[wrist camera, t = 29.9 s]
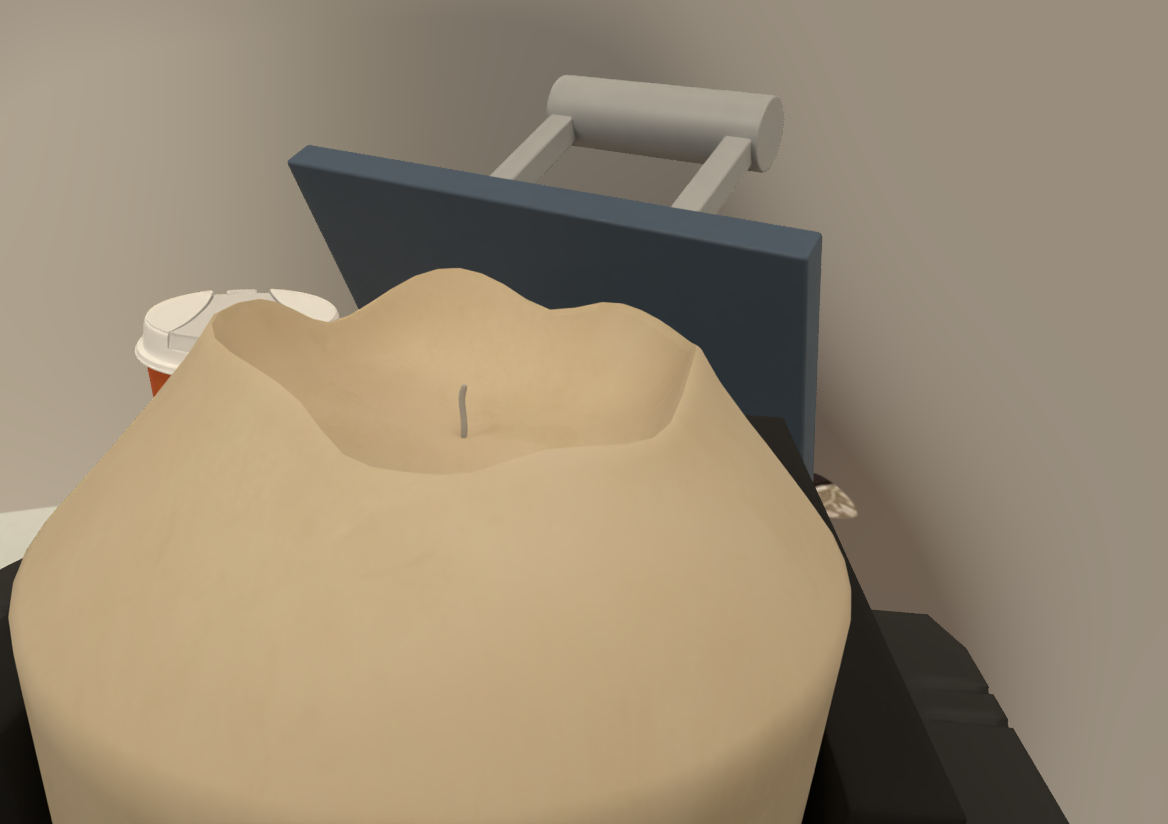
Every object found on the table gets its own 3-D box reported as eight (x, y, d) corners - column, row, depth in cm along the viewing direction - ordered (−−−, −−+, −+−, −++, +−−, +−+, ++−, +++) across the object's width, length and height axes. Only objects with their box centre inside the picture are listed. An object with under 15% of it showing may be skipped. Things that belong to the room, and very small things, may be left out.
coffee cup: (177, 580, 42) (137, 286, 36) (347, 555, 45) (336, 281, 39) (171, 693, 35) (120, 350, 29) (373, 654, 38) (365, 338, 32)
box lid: (807, 259, 14) (932, 45, 18) (285, 160, 20) (467, 15, 24) (798, 654, 24) (879, 464, 28) (458, 516, 30) (565, 373, 34)
